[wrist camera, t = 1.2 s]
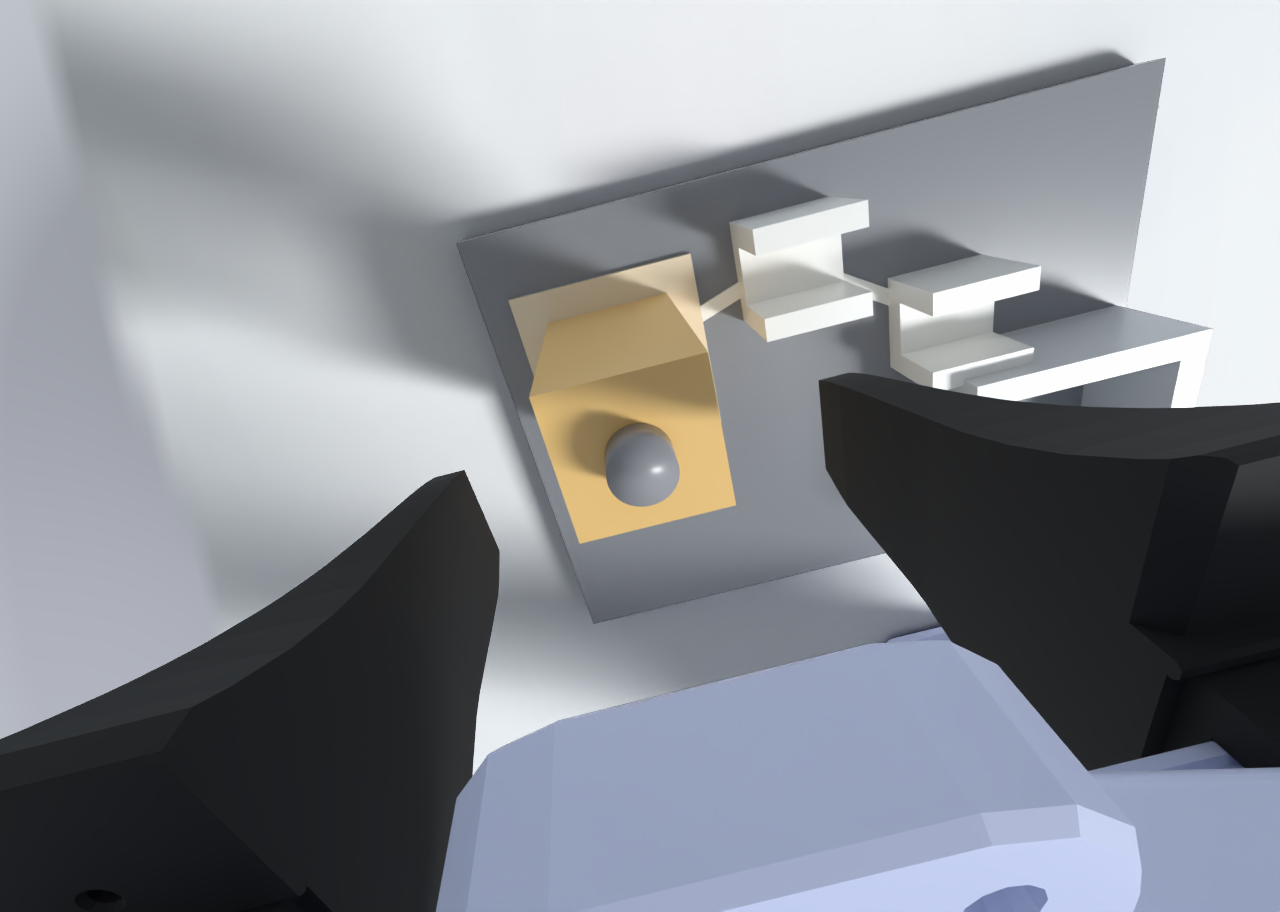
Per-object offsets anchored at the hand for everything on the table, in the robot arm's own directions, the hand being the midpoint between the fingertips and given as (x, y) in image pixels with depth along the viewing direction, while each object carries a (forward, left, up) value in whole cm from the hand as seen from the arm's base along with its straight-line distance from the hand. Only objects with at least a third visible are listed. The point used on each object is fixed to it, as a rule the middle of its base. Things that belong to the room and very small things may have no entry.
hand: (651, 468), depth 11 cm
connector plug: (-1, 0, -9) cm, 9 cm away
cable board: (-4, -7, -10) cm, 13 cm away
